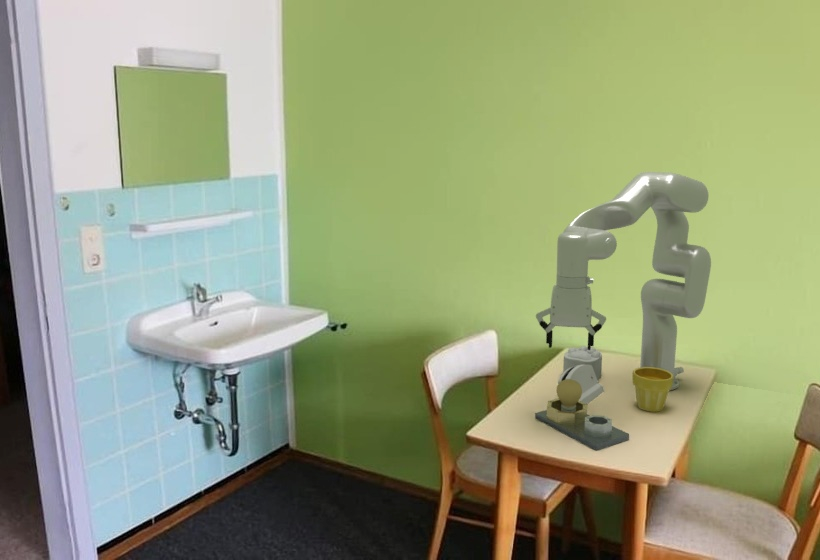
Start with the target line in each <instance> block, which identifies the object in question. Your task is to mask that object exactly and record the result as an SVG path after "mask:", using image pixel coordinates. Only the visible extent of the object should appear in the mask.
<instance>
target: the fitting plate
mask: <svg viewBox="0 0 820 560" xmlns="http://www.w3.org/2000/svg"><path fill="white" fill-rule="evenodd" d="M546 404H547V406H546V409H545V410H542V411H538V412H535V413H534V419H535V420H538V422H541V423H543V424H545V425H547V426H548V427H551V428H552V429H555V430H556V431H558V432H559V433H561V434H564V435H565V436H567V437H570V438H571V439H573V440H574V441H577V442H579V443H580V444H583V445H584V446H587V447H589V449H592V450H594V451H599V450H602V449H605V448H608V447H612V446H614V445H617V444H620V443H623V442H626V441H629V440H630V433H628V432H626V431H624V430H622V429H620V428H618V427H615V426H613V419H612V418H610V417H607V416H605V415H602V414H601V415H600V414H599V415H598V414H591V415H590V414H588V403H587V404H586V403H583V402H581V401H578V402H577V403H576V404H575V405H576V412H564V411H561V408H562V407H561V405H562V402H561V401H560V399H559V398H558V397H557V398H555V399H550V400H548V401H547V403H546Z"/></svg>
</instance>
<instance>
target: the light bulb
mask: <svg viewBox="0 0 820 560" xmlns="http://www.w3.org/2000/svg"><path fill="white" fill-rule="evenodd" d="M556 395H557V398H559V399H560V401H561V402H562V405H561V407H562V408H561V411H564V412H576V405H575V404H576V403H577V402H578V401H579V399H580V398H581V395H582V388H581V385H580V384H579V383H578V382H577V381H575V380H572V379H566V380H563V381H561V382H560V383H559V384H558V383H557V386H556Z"/></svg>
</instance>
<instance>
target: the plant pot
mask: <svg viewBox="0 0 820 560" xmlns="http://www.w3.org/2000/svg"><path fill="white" fill-rule="evenodd" d="M632 384H633V385H634V389H635V395H636V403H637V407H638V408H639V409H641V410H643V411H646V412H653V413H654V412H660V411H663V409H664V407H665V403H666V400H667V397H668V394H669V391H671V390H670V389H671V388H672V384H673V374H672V373H670V372H669V371H667V370H664V369H660V368H654V367H641V368H640V367H638V368H635V369H634V370H633V371H632Z"/></svg>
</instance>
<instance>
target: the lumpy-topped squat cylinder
mask: <svg viewBox="0 0 820 560" xmlns="http://www.w3.org/2000/svg"><path fill="white" fill-rule="evenodd" d="M602 363H603V354H602V352H601V351H599V350H598V349H596V348H595V347H594V346H591V350H588V346H586V345H582V346H580V347H578V348H576V347H574V346H573V347H572V346H570V347H569V348H568V350H567V352H566V353H564V355H563V370H562V371H563V372H562V374H563V373H564V372H565V371H566V370H567V369H569V368H571V367H573V366H576V365H583V364H584V365H592V367H593V370H594V372H595V375H596V378H597V380H598V381H600V380H601V379H602V370H603V369H602V366H603V365H602Z"/></svg>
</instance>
